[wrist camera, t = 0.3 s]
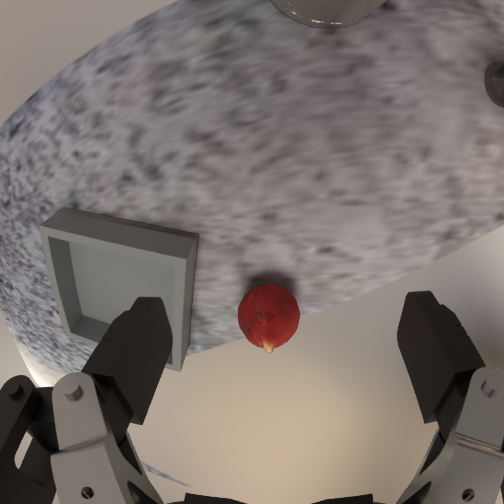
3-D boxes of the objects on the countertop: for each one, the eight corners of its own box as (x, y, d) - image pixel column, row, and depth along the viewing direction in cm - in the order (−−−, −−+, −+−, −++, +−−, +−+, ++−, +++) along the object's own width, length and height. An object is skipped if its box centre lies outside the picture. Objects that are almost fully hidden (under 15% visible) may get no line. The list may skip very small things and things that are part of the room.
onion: (234, 300, 32) (222, 357, 26) (256, 260, 30) (248, 315, 23) (282, 319, 33) (281, 376, 26) (308, 282, 30) (314, 339, 24)
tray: (63, 207, 28) (39, 225, 24) (199, 234, 29) (186, 259, 25) (81, 313, 37) (66, 335, 33) (189, 344, 37) (180, 371, 33)
